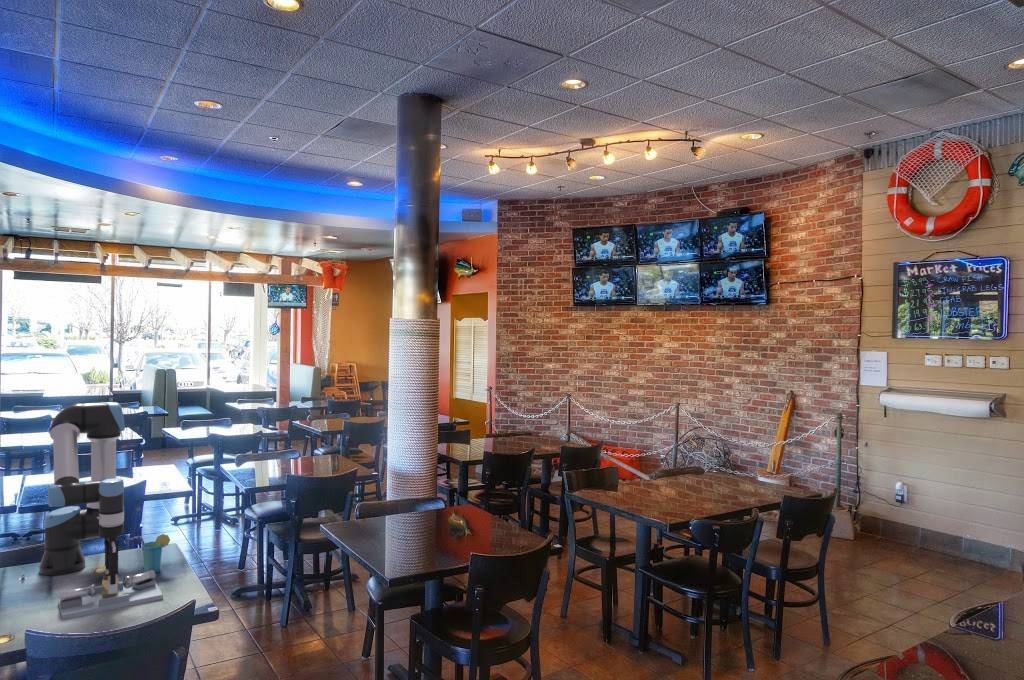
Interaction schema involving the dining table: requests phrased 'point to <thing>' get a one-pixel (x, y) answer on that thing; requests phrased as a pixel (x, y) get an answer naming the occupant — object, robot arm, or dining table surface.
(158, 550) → the cup
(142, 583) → the shaft
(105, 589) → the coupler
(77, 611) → the bench
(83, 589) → the shaft
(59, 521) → the robot arm
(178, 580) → the dining table surface
